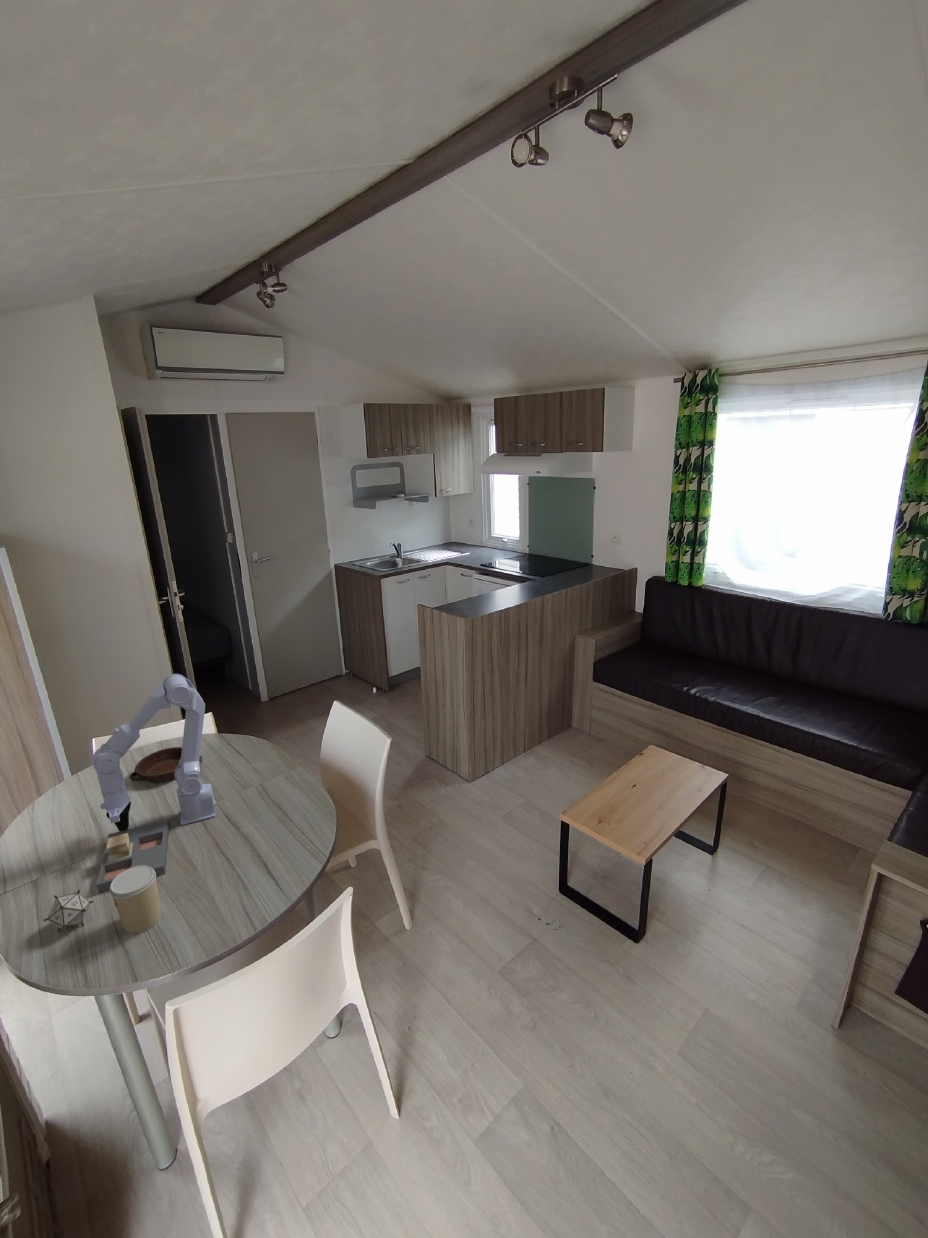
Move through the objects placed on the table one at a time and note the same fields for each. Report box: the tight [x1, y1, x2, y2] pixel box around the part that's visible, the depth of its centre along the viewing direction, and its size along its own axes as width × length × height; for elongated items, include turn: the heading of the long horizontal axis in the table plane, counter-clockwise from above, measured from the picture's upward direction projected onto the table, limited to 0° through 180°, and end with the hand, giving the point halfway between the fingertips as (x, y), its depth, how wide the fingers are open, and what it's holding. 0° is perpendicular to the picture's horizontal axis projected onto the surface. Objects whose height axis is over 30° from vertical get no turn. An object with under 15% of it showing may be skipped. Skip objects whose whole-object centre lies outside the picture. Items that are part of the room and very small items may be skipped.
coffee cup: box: [108, 865, 162, 934], centre depth 131 cm, size 9×9×12 cm
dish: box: [129, 746, 203, 784], centre depth 192 cm, size 18×22×5 cm
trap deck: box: [96, 818, 170, 894], centre depth 153 cm, size 15×21×2 cm
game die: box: [42, 889, 94, 933], centre depth 131 cm, size 9×8×10 cm
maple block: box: [106, 833, 131, 861], centre depth 150 cm, size 4×4×4 cm
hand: (124, 829), depth 159 cm, fingers closed
